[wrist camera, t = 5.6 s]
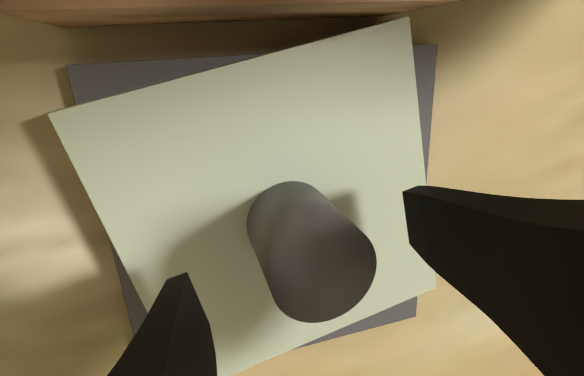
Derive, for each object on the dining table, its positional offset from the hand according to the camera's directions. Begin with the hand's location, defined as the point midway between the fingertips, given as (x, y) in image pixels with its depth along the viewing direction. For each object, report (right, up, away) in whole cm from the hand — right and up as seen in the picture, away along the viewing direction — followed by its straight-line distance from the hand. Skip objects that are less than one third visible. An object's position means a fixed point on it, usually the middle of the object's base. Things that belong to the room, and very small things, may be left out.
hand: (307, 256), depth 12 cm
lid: (-1, +1, +2) cm, 3 cm away
